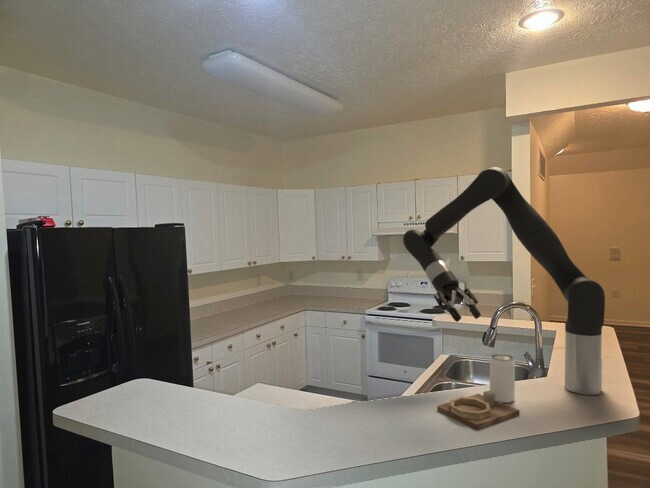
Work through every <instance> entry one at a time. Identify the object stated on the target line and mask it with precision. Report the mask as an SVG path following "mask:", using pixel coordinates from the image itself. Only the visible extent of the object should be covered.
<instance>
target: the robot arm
mask: <svg viewBox="0 0 650 488" xmlns="http://www.w3.org/2000/svg"><path fill="white" fill-rule="evenodd" d="M490 200H492V201H493V202H494V203H495V204H496V205H497V206H498V207H499V208H500V210H501V211H502V212H503V214H504V215H505V218H506V220H507V221H508V224H509V226H510V227H511V229H512V232H513V233H514V235H515V237H516V238H517V240H518V241H519V242H520V244H522V246H523V247H524V249H526V251H527V253H529V254H530V255H531V256H532V258H534V259H535V261H536V262H537V263H538V264H539V265H540V266H541V267H542V268H543V269H544V270H545V271H546V272H547V273H548V275H550V276H551V278H552V280H553V281H554V283H555V284H556V285H557V287H558V289H559V290H560V292H561V293H562V295H563V298H564V299H565V300H566V302H567V318H566V320H565V323H564V324H565V325H564V326H565V327H564V329H565V330H564V346H565V347H564V388H565V389H566V390H567V391H569V392H572V393H575V394H578V395H579V394H580V395H584V396H585V395H586V396H598V395H600V394H601V393H602V389H603V388H602V383H603V382H602V381H603V380H602V379H603V376H602V375H603V367H602V364H603V362H602V361H603V360H602V346H603V345H602V338H603V337H602V331H603V327H604V324H605V312H606V311H605V310H606V308H605V307H606V305H605V304H606V295H605V291H604V289H603V287H602V286H601V284H600V283H598V282H596V281H595V280H593V279H590V278H589V277H588V276H586V275H585V274H584V273H583V272H582V271H581V270H580V269H579V268H578V266H576V265H575V263H574V262H573V261H572V260H571V258H570V256H569V255H568V253H567V251H566V249H565V247H564V245H563V244H562V242H561V240H560V238H559V236H558V235H557V234H556V232H555V231H554V229H552V227H551V226H550V225H549V224H548V223H547V221H546V220H545V219H544V218H543V217H542V216H541V215H540V214H539V212H538V211H537V210H536V209H535V208H534V207H533V206H532V205H531V204H530V203H529V202H528V201H527V200H526V199H525V198H524V196H523V195H522V194H521V192H520V191H519V189H518V187H517V186H516V185H515V182H514V181H513V180H512V178H511V176H510V175H509V174H508V173H507V171H506V170H504V169H503V168H501V167H498V166H493V167H492V166H491V167H489V168H486V169H483V170H482V171H480V172H479V173H478V175H477V177H476V178H474V180H473V181H472V182H471V183H470V185H468V187H467V188H465V190H464V191H462V192H461V193H460V194H459V195H458V196H456V197H455V199H453V200H452V201H450V202H449V203H448V204H446V205H445V206H443V207H442V208H441V209H440V210H438V211H437V212H435V213H434V214H433V215H431V217H430V218H428V219H427V220H426V221H425V224H424V226H425V229H424V230H423V231H420V230H417V229H410V230H407V231H405V233H404V234H403V237H402V243H403V245H404V247H405V249H406V250H407V252H408V253H409V254H410V255H411V256H412V257H413V259H415V260H416V261H417V262H418V263H419V264H420V267H421V268H422V270H423V271H424V272H425V274H426V276H427V279H428V280H429V282H430V283H431V285H432V286H433V288H434V289H435V294H434V295H433V297H434V300H435V301H436V303H437V305H438V306H439V308H440V310H441V311H442V312H445V311H446V312H448V313H449V314H450V316H451V318H452V319H453V320H454V321H455V322H456V323H458V322H459V321H461V320H462V315H461V314H460V312H459V311H458V309H457V308H456V307H455V305H460V306H462V307H465V308H467V309H469V312H470V313H471V315H472V317H474V319H475V320H478V319H479V318H480V317H481V316H482V314H481V312H480V310H479V309H478V307H477V306H476V305H477V304H478V303H479V300H478V298H476V297H475V295H474V294H473V293H472V291H471V290H470V289H469V288H468V287H466V288H465V289H462V288H461V287H460V286H459V285H460V283H459V280H458V279H457V277H456V275H455V274H454V273H453V271H452V269H450V267H449V265H447V264H446V262H445V261H444V260H443V259H442V257H441V256H440V253H439V252H437V251H436V250H435V249H433V248H432V247H433V246H434V245H435V244H436V242H437V241H438V240H439V239H440V238H441V236H443V235H444V234H445V233H446V232H447V231H449V230H451V229H452V228H453V227H455V225H457V224H458V223H459V222H460V221H461V220H462V219H464V218H465V217H466V216H467V215H468V214H469V213H471V212H472V211H473V210H474V209H477V208H478V207H479V206H481V205H483V204H484V203H486V202H488V201H490Z"/></svg>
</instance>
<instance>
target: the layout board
mask: <svg viewBox="0 0 650 488" xmlns="http://www.w3.org/2000/svg"><path fill="white" fill-rule="evenodd" d="M482 393H483V394H480V393H475V394H473V395H470V396H460V397H456V398H453V399H450V400H449V402H446V403H442V404H439V405H437V406H436V409H437V412H440V413H442V414H445V415H447V416H448V417H450V418H452V419H454V420H456V421H458V422H460V423H462V424H465V425H466V426H468V427H471V428H473V429H475V430H478V431H479V430H480V429H483V428H486V427H489V426H491V425H494V424H495V425H496V424H497V423H501V422H504V421H506V420H509V419H511V418H514V417H517V416H520V409H518V408H516V407H513V406H510V405H508V404H506V403H500V402H498V401H495V393H494V392H491V391H490V390H485V391H483V392H482Z"/></svg>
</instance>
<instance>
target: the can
mask: <svg viewBox="0 0 650 488" xmlns="http://www.w3.org/2000/svg"><path fill="white" fill-rule="evenodd" d="M489 361H490V362H489V391H491V392H494V393H495V401H498V402H501V403H503V404H510V402H511V403H513V402H514V401H515V396H516V393H515V391H516V390H515V389H516V388H515V387H516V386H515V385H516V383H515V382H516V379H515V378H516V377H515V375H516V374H515V371H516V370H515V369H516V368H515V366H516V365H515V362H514V358H513V356H511V355H508V354H505V353H504V354H503V353H496V354H495V353H494V354H491V358H490V360H489Z"/></svg>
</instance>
